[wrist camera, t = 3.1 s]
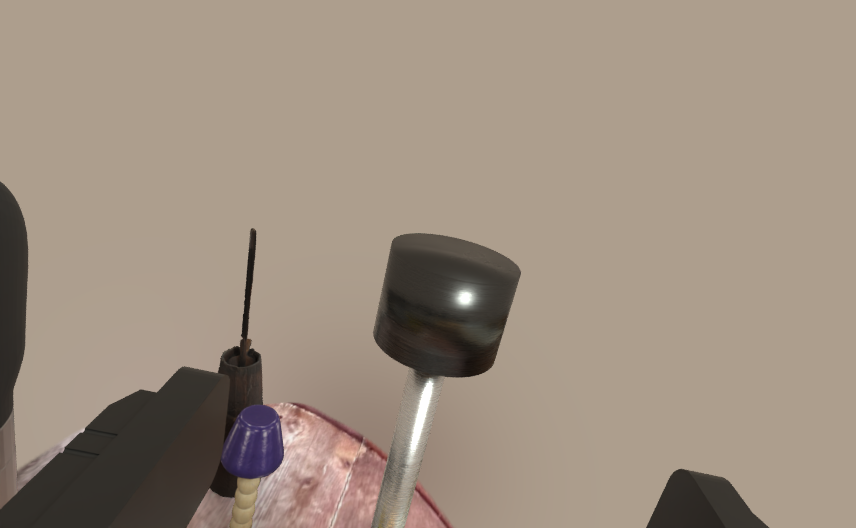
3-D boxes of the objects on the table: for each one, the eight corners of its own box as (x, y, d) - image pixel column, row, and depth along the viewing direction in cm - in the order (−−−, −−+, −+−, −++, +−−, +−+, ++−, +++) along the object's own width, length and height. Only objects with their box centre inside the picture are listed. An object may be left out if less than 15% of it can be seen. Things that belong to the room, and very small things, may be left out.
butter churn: (215, 432, 59) (239, 198, 50) (294, 454, 59) (333, 222, 50) (166, 490, 50) (186, 218, 41) (259, 516, 50) (299, 247, 41)
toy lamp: (271, 557, 46) (296, 401, 41) (254, 606, 42) (280, 440, 36) (217, 548, 46) (235, 390, 40) (195, 597, 41) (212, 427, 36)
